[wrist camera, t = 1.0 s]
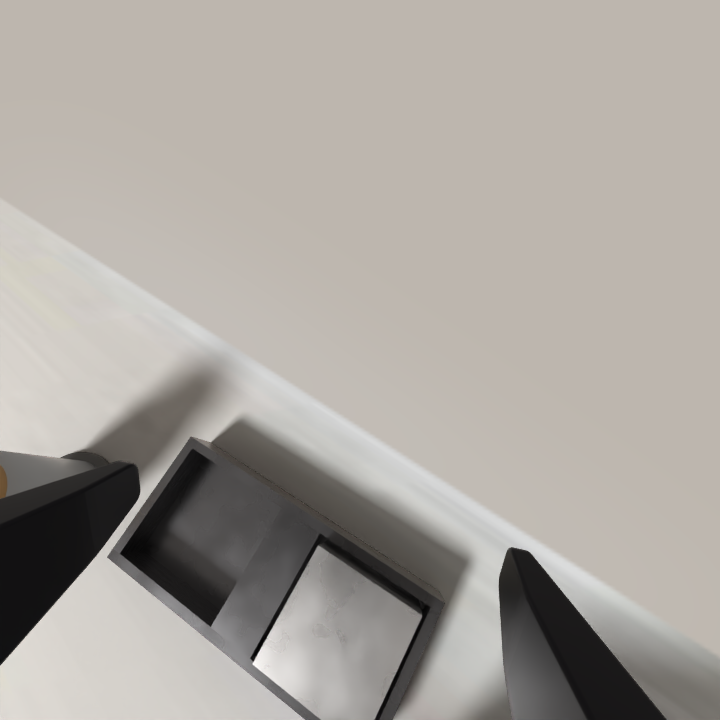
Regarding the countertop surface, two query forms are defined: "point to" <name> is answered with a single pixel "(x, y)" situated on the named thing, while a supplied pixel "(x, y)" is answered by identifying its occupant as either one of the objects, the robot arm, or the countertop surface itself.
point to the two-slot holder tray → (280, 587)
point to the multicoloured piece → (34, 471)
